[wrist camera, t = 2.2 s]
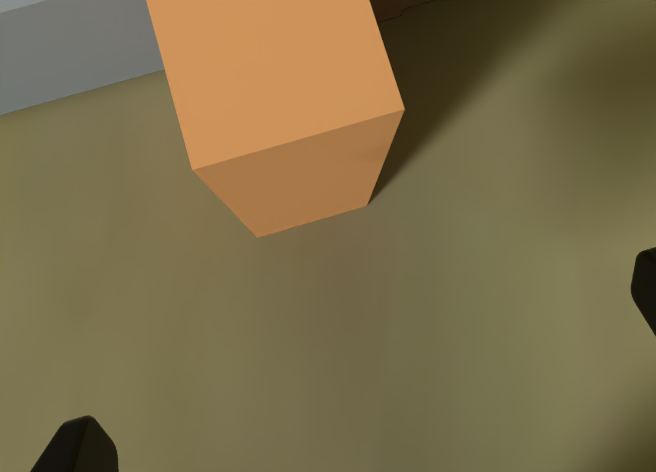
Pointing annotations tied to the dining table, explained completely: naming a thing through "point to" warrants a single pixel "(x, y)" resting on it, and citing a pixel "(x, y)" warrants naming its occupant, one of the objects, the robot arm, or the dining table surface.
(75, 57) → the door
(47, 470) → the robot arm
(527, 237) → the dining table surface
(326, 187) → the tan rectangular slab
